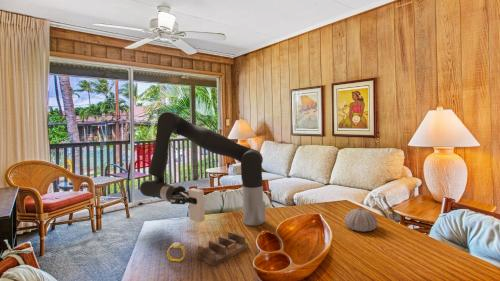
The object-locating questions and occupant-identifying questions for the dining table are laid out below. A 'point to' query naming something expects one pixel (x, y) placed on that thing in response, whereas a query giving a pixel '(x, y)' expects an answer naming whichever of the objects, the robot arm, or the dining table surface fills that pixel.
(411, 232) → the dining table surface
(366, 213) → the sea urchin shell
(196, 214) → the panel
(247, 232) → the dining table surface
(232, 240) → the rack
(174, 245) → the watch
